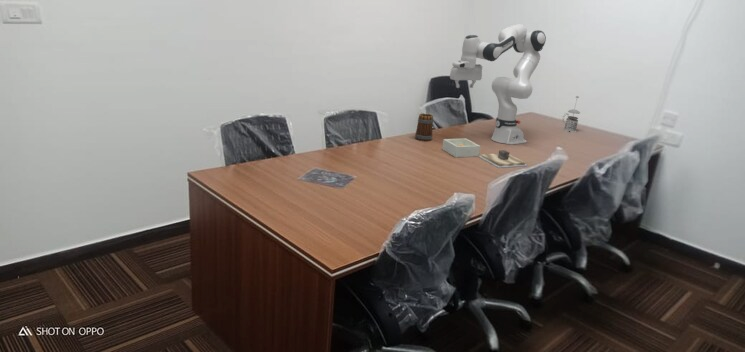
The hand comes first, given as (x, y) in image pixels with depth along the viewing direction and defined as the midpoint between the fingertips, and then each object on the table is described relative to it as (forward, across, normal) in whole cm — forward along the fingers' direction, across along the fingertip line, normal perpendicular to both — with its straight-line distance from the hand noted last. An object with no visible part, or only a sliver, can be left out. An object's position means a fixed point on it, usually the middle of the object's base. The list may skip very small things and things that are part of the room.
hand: (464, 87), depth 296 cm
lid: (+32, -4, +40) cm, 52 cm away
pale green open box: (+33, +12, +22) cm, 41 cm away
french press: (+33, -102, -12) cm, 108 cm away
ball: (+30, +12, +22) cm, 39 cm away
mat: (+33, -4, +40) cm, 52 cm away
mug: (+33, +18, -9) cm, 39 cm away
